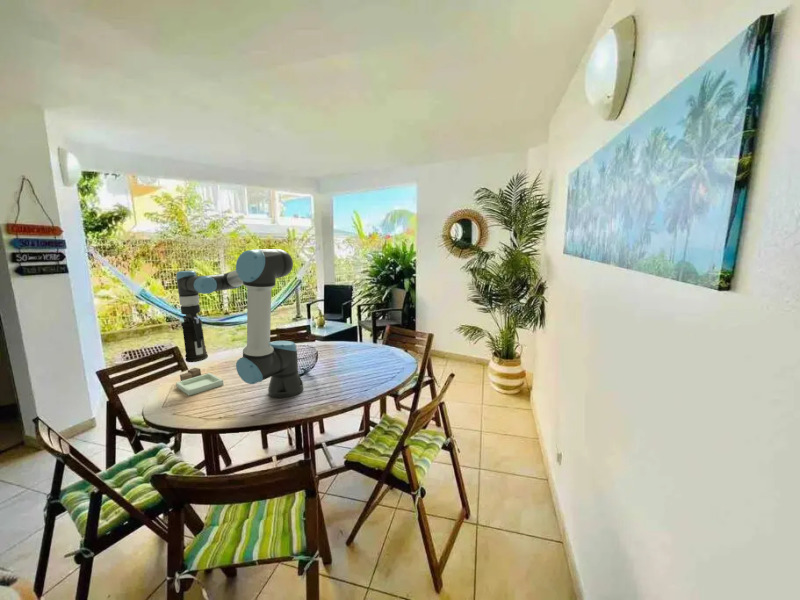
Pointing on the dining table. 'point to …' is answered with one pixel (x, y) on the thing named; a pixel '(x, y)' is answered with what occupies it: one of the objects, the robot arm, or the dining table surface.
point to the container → (192, 343)
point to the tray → (199, 384)
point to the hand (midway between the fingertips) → (195, 352)
